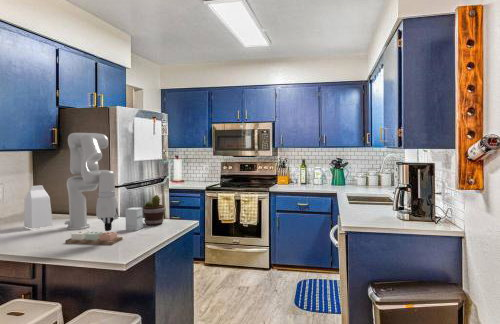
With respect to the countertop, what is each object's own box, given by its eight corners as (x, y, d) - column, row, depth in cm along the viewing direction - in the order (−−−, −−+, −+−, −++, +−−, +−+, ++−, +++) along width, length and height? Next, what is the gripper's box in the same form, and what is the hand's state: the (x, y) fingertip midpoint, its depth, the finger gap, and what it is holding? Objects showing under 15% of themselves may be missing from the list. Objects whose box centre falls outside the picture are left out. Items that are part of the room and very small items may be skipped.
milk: (31, 230, 214) (30, 187, 213) (24, 227, 221) (22, 186, 220) (52, 226, 223) (51, 185, 222) (44, 224, 230) (43, 184, 229)
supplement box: (136, 231, 208) (136, 209, 207) (125, 230, 209) (124, 209, 209) (143, 228, 215) (142, 207, 214) (132, 227, 216) (131, 207, 216)
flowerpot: (138, 223, 228) (137, 192, 227) (161, 220, 237) (160, 190, 236) (146, 227, 216) (145, 194, 216) (170, 224, 225) (169, 192, 225)
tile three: (99, 240, 181) (99, 234, 181) (106, 237, 187) (106, 231, 186) (110, 240, 180) (110, 234, 180) (116, 237, 186) (116, 231, 185)
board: (65, 243, 182) (65, 240, 182) (78, 238, 192) (77, 235, 192) (112, 244, 177) (111, 241, 177) (122, 239, 187) (122, 237, 187)
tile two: (85, 239, 182) (85, 233, 182) (92, 237, 188) (92, 231, 188) (96, 240, 181) (95, 234, 181) (102, 237, 187) (102, 231, 187)
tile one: (71, 239, 183) (71, 233, 183) (78, 236, 189) (78, 230, 189) (81, 239, 182) (81, 233, 182) (89, 236, 188) (88, 230, 188)
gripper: (89, 195, 180) (90, 231, 180) (116, 196, 177) (117, 232, 178) (98, 194, 187) (99, 228, 188) (124, 194, 185) (125, 229, 185)
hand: (108, 230), depth 183 cm, fingers closed
